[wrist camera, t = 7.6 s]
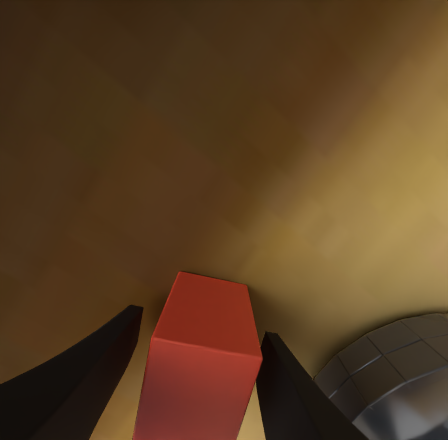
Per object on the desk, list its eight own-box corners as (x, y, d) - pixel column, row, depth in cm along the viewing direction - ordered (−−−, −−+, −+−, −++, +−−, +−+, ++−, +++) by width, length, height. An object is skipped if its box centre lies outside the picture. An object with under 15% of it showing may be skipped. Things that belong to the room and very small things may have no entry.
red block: (225, 362, 12) (227, 470, 8) (162, 350, 12) (128, 455, 8) (247, 284, 11) (263, 359, 7) (179, 270, 11) (150, 338, 7)
